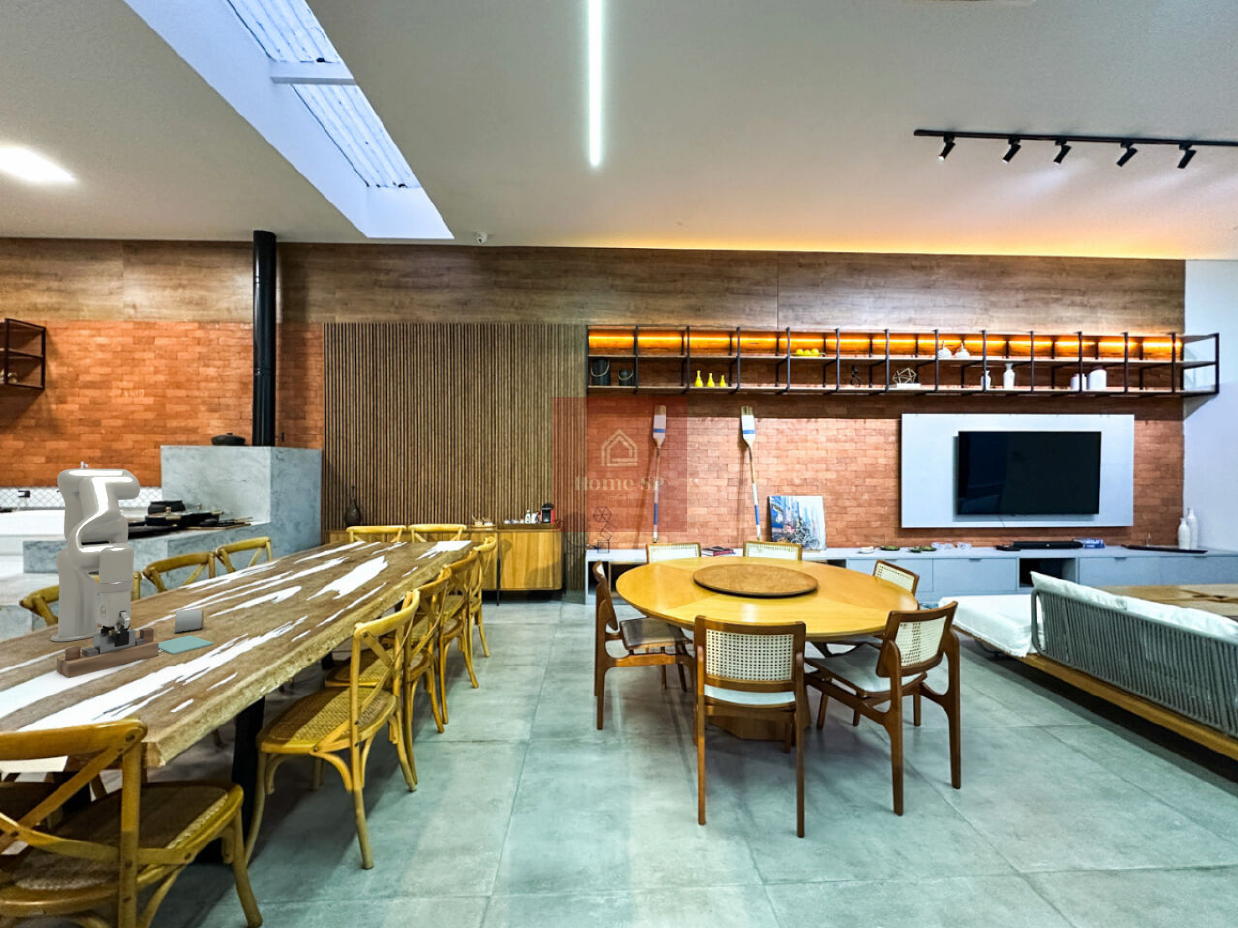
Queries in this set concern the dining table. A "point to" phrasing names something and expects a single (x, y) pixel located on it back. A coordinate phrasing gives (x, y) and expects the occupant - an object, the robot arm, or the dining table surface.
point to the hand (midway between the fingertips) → (114, 642)
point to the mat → (183, 644)
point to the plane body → (106, 656)
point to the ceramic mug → (189, 620)
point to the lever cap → (111, 642)
